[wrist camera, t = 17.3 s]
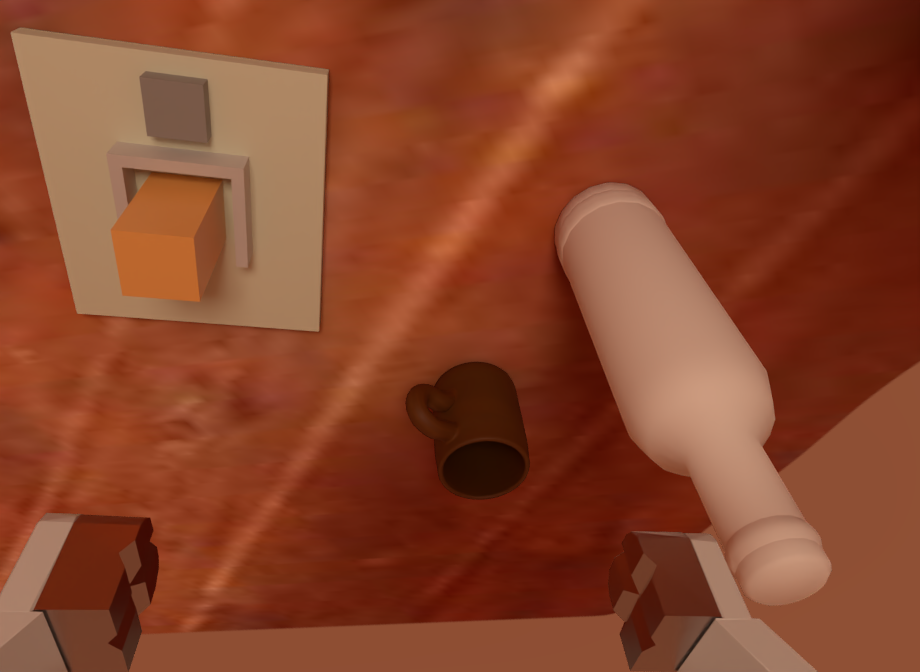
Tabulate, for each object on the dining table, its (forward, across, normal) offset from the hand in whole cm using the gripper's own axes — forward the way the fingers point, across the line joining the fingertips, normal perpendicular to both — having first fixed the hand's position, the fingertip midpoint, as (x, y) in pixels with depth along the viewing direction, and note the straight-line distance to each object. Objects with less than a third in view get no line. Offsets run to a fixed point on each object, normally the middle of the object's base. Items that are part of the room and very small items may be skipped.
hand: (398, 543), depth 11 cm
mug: (+37, -8, +28) cm, 47 cm away
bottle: (+37, -17, +12) cm, 43 cm away
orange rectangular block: (+36, +13, +13) cm, 40 cm away
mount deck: (+37, +13, +13) cm, 41 cm away
